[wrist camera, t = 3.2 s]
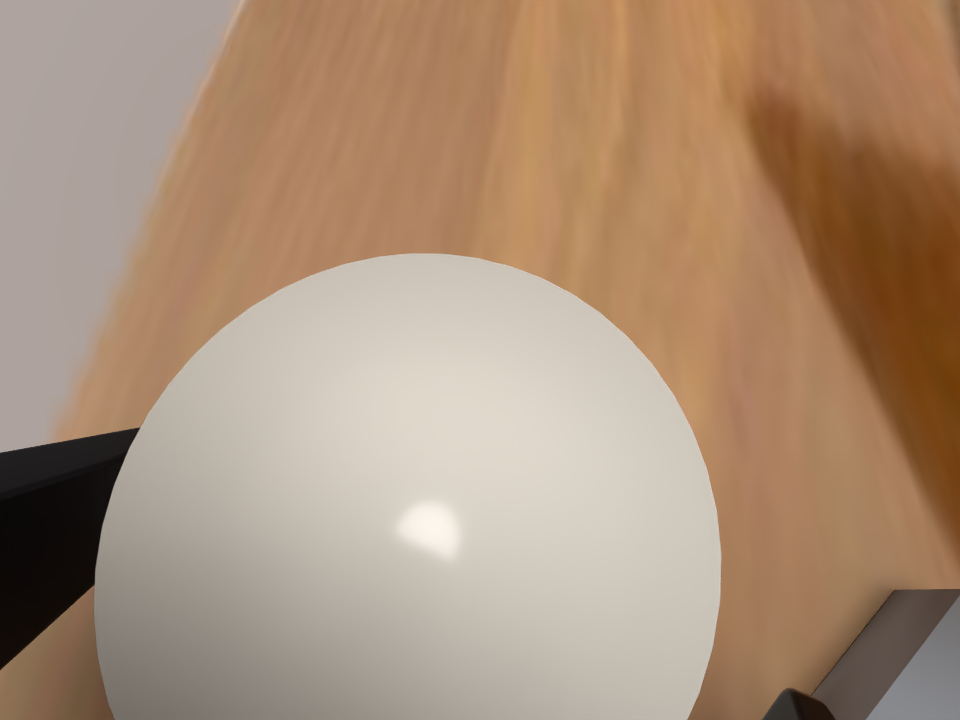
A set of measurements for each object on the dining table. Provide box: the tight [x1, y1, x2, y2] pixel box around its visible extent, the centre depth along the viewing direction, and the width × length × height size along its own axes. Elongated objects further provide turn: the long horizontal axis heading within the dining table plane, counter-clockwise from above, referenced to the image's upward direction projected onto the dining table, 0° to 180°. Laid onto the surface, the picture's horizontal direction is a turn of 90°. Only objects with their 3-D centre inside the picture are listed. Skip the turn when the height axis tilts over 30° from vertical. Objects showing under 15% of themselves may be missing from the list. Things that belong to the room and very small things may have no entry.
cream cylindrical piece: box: [94, 254, 721, 720], centre depth 10 cm, size 8×8×12 cm
